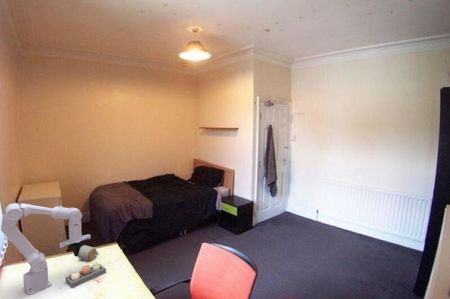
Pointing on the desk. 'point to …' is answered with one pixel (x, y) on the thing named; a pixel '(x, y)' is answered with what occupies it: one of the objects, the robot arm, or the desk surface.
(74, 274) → the button cream
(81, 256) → the ceramic mug
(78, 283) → the panel
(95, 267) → the button sage
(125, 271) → the desk surface
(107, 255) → the desk surface
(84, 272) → the button terracotta
